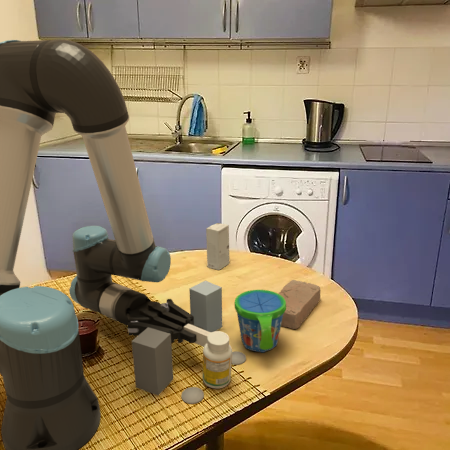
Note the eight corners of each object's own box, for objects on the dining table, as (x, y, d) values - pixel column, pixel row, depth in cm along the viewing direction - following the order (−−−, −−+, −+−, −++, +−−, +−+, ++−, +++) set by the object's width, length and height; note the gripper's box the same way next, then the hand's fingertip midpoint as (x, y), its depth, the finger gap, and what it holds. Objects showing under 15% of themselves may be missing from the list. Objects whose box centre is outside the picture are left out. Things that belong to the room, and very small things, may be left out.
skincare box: (219, 270, 131) (218, 231, 127) (206, 267, 133) (205, 228, 129) (230, 263, 136) (230, 224, 132) (217, 259, 138) (216, 222, 134)
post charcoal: (158, 395, 82) (154, 348, 79) (135, 387, 84) (131, 341, 81) (173, 379, 87) (170, 333, 83) (151, 371, 89) (148, 327, 85)
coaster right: (238, 367, 90) (238, 366, 90) (222, 359, 92) (222, 358, 92) (249, 357, 93) (249, 355, 93) (233, 350, 95) (233, 349, 95)
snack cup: (234, 323, 105) (234, 283, 101) (280, 323, 105) (281, 283, 101) (234, 366, 90) (234, 321, 87) (288, 366, 90) (290, 321, 86)
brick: (290, 292, 119) (291, 276, 117) (321, 300, 115) (322, 283, 113) (262, 322, 106) (262, 305, 104) (296, 333, 101) (297, 314, 100)
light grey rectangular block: (207, 336, 100) (205, 295, 96) (190, 328, 103) (189, 288, 100) (222, 326, 103) (221, 287, 100) (206, 319, 107) (205, 280, 103)
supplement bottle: (223, 393, 83) (226, 351, 79) (197, 383, 85) (198, 342, 81) (234, 374, 87) (237, 333, 83) (209, 365, 89) (210, 325, 85)
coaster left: (194, 407, 79) (193, 405, 79) (176, 397, 82) (176, 396, 82) (208, 394, 82) (208, 392, 82) (191, 385, 85) (191, 384, 85)
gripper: (148, 308, 106) (232, 342, 93) (104, 334, 96) (191, 376, 83) (146, 279, 103) (232, 309, 90) (100, 303, 93) (190, 341, 80)
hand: (212, 342), depth 86 cm, fingers closed
